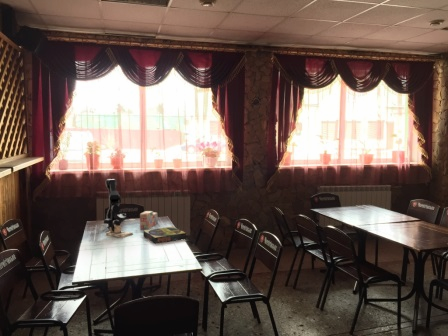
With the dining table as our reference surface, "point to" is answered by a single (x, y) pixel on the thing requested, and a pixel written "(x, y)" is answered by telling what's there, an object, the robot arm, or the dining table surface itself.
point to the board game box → (164, 234)
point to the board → (120, 234)
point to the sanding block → (116, 229)
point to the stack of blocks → (148, 219)
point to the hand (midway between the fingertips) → (115, 230)
